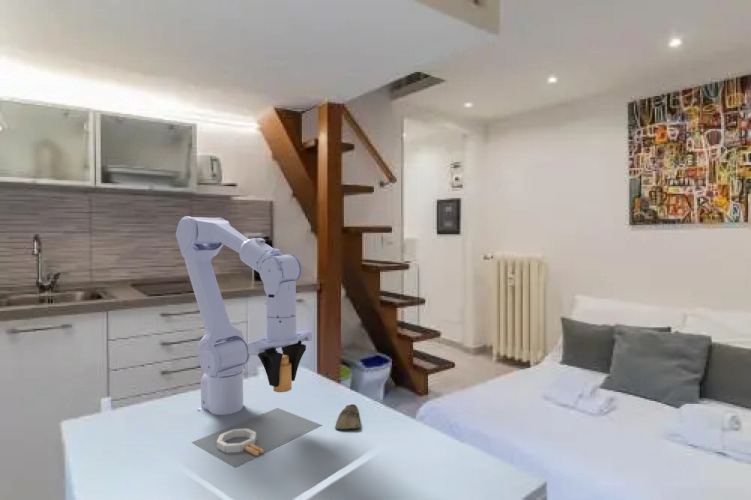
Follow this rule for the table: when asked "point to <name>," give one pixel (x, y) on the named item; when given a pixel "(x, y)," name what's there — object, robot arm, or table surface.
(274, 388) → the stepped orange capsule
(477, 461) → the table surface
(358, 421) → the stone
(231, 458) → the mat
